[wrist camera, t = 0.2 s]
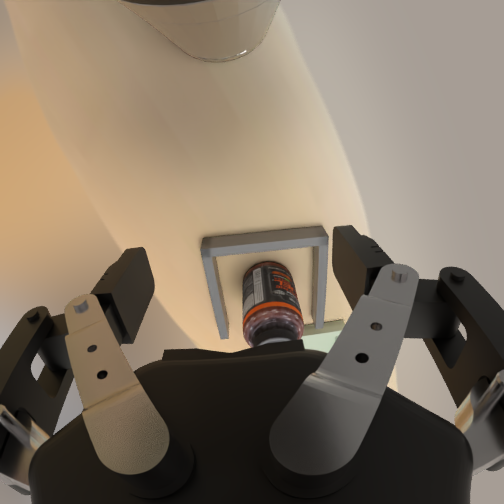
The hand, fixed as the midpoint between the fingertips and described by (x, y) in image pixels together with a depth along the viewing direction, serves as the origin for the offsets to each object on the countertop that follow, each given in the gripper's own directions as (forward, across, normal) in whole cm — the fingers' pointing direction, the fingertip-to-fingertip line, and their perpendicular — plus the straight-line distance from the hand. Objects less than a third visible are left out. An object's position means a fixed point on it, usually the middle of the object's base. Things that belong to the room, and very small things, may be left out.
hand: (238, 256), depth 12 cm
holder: (+18, -2, +13) cm, 23 cm away
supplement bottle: (+19, -2, +13) cm, 23 cm away
